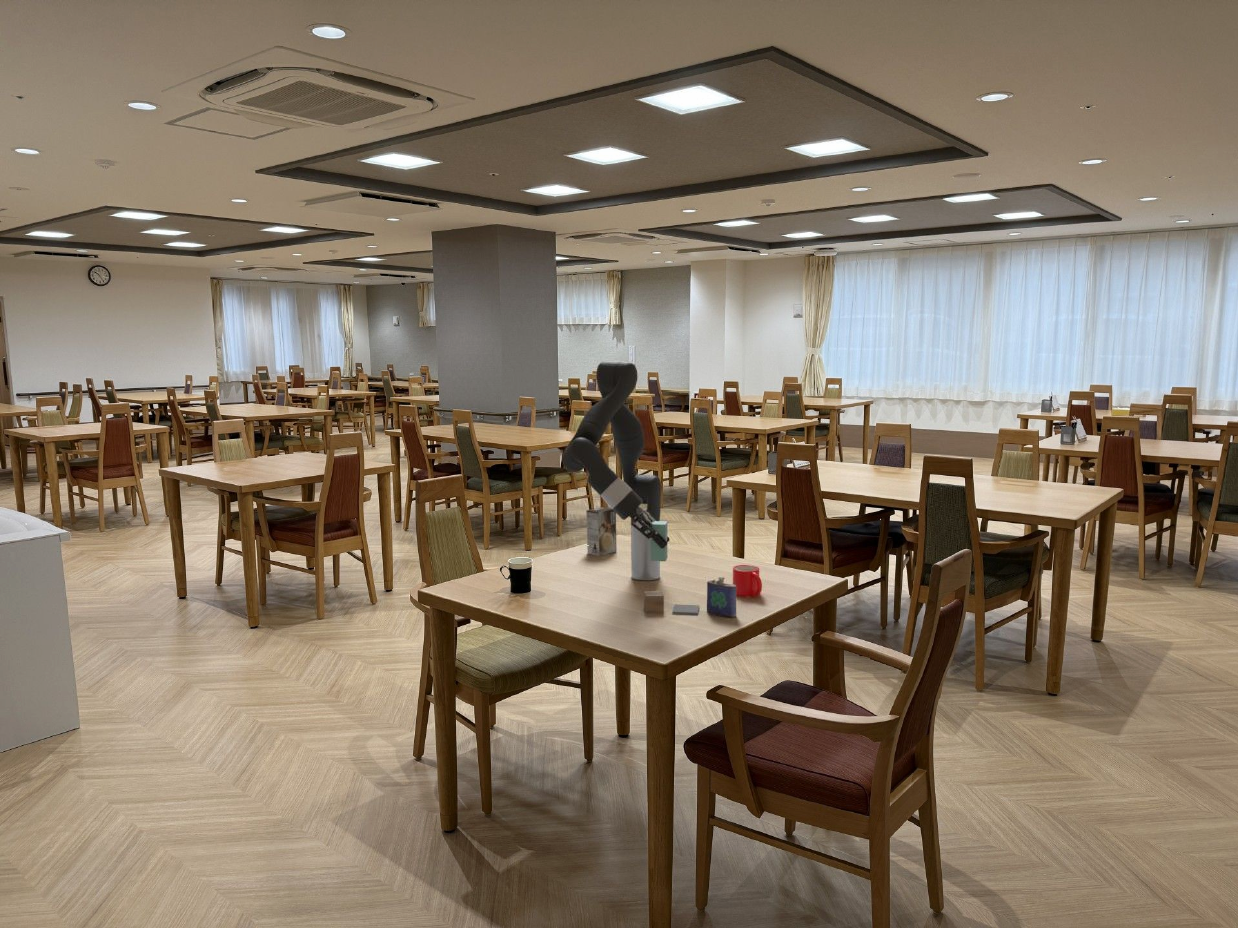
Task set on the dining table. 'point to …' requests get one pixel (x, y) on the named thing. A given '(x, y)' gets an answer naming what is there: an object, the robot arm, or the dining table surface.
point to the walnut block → (653, 602)
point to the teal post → (656, 551)
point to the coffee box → (601, 531)
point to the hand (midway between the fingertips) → (666, 543)
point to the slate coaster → (685, 609)
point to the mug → (747, 580)
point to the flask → (721, 598)
